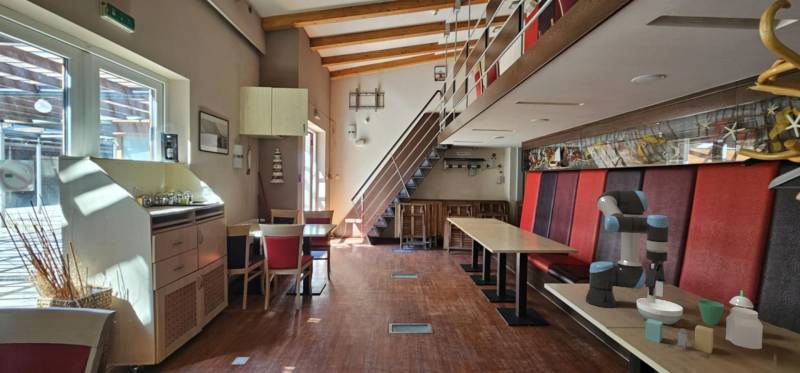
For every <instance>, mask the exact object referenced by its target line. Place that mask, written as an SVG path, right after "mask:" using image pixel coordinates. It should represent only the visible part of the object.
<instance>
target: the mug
mask: <svg viewBox="0 0 800 373" xmlns="http://www.w3.org/2000/svg"><path fill="white" fill-rule="evenodd" d="M697 304H698V308H699V312H700V315H701V319H702V320H703V323H705V324H707V325H711V326H717V324H718V323H719V322H720V320H721V317H722V315H723V313H724V310H725V305H724V304H723V303H720V302H718V301H713V300H709V299H706V298H704V299H699V300H697Z"/></svg>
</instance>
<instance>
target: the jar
mask: <svg viewBox="0 0 800 373" xmlns="http://www.w3.org/2000/svg"><path fill="white" fill-rule="evenodd" d="M758 317H759V313H758V312H757V311H756V310H754V309H753V310H750V309H746V308H740V307H733V308H732V312H731V314H730V313H729V314H728V315H727V316H726V318H725V319H726V321H725V322H726V326H725V327H726V328H725V340H727V341H729V342H731V343H732V344H733V345H735V346H738V347H741V348H746V349H752V350H760V349H763V329H764V325H763V324H762V322H761V321H760V319H759V318H758Z"/></svg>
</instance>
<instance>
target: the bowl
mask: <svg viewBox="0 0 800 373" xmlns="http://www.w3.org/2000/svg"><path fill="white" fill-rule="evenodd" d="M636 308H637V310H638V313H639V314H640V315H641V317H642V318H644V319H645V320H646V321H647V320H648V319H652V320H656V321H660V322H663V325H667V326H672V325H673V324H676V323H678V321H680V320H681V319H682V316H683V314H684V313H683V312H684V308H683V306H681V305H679V304H677V303H675V302H672V301H668V300H665V299H664V300H663V299H658V298H655V304H654V303H650V302H647V297H644V298H643V297H642V298H638V299H636Z"/></svg>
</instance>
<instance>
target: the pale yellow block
mask: <svg viewBox="0 0 800 373" xmlns="http://www.w3.org/2000/svg"><path fill="white" fill-rule="evenodd" d="M694 344H695V345H694V349H696V350H700V351H704V352H707V353H711V352H712V353H713V351H712V350H714V328H711V327H707V326H703V325H700V324H699V325H698V324H697V325H696V326H695V329H694ZM712 353H711V354H712Z"/></svg>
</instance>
